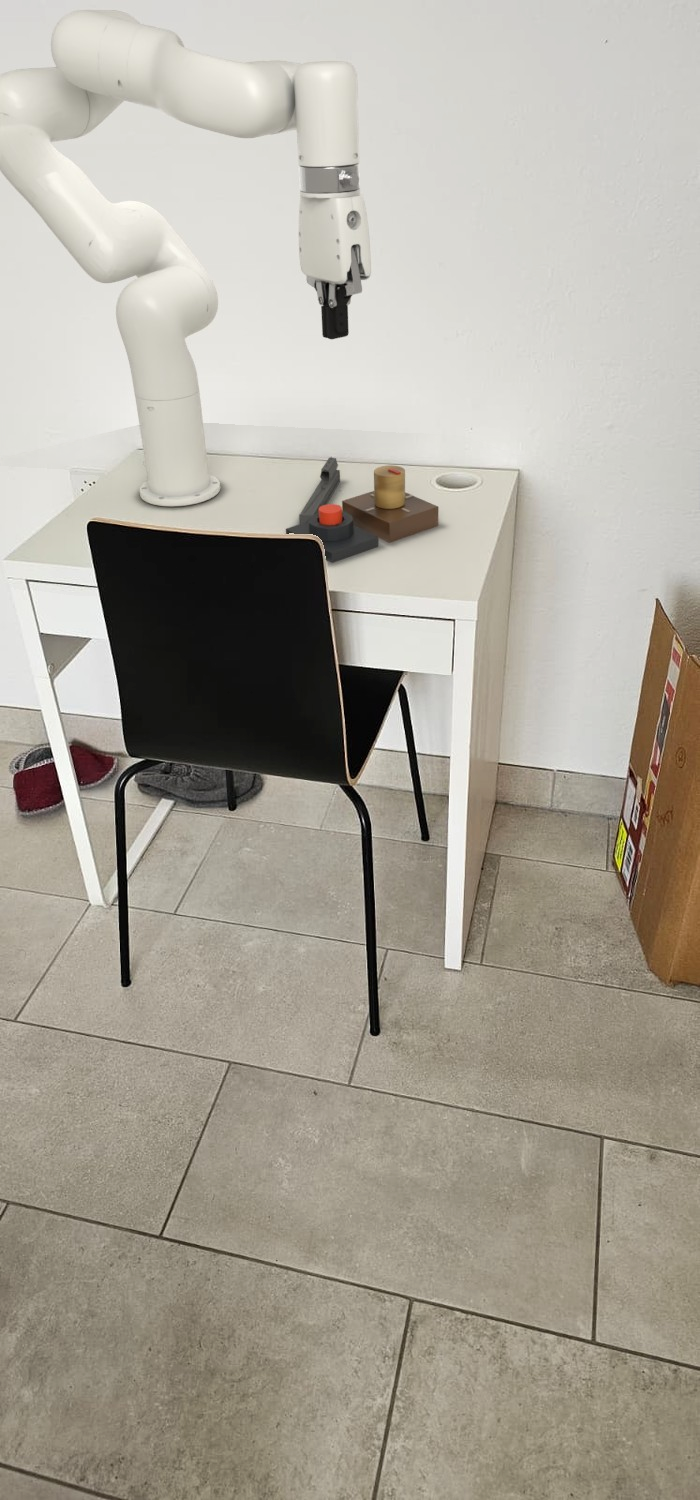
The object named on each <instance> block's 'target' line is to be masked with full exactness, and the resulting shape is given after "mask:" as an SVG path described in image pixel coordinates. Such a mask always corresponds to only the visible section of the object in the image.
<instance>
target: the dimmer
mask: <svg viewBox="0 0 700 1500" xmlns="http://www.w3.org/2000/svg"><path fill="white" fill-rule="evenodd" d="M341 507H342V512H345V513H348V514H350V515H352V518H353V525H354V526H356V527H358V528H360V529H362V530H364V531H366V532H368V533H370V534H373V535H375V536H377V537H378V539H380V540H383V541H385V542H387V543H389V544H390V543H394V542H396V541H399V540H402V539H405V538H408V537H411V536H415V535H416V534H419V533H423V532H425V531H428V530H430V529H435V528H437V527H439V505H436V504H433V503H431V502H429V501H428V500H424V499H422V498H419V497H417V496H415V495H413V494H410V493H408V492H406V491H405V504H404V505H403V506H402V507H399V508H394V509H384V508H379V507H377V506H376V505H375V503H374V490H373V491H369V492H366V493H363V494H360V495H356V496H354V497H350V498H347V499H344V500H342V501H341Z"/></svg>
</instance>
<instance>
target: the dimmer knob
mask: <svg viewBox="0 0 700 1500" xmlns="http://www.w3.org/2000/svg"><path fill="white" fill-rule="evenodd" d="M373 491H374V503H375V505H376V506H377V507H379V508H384V509H394V508H399V507H402V506H403V505H404V504H405V492H406V469H405V468H404V467H402V466H400V465H392V464H391V465H381V466H378V467H375V469H373Z"/></svg>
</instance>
